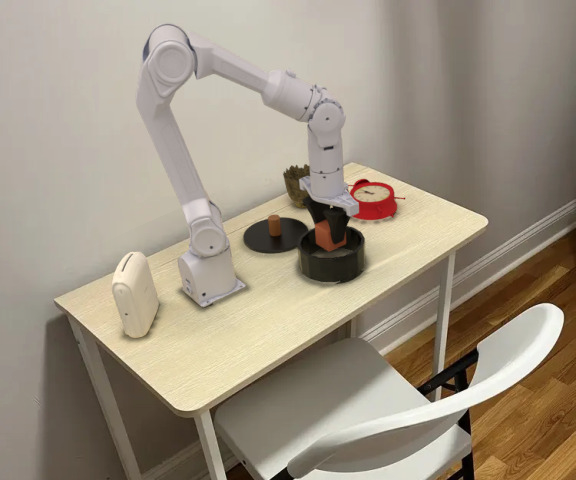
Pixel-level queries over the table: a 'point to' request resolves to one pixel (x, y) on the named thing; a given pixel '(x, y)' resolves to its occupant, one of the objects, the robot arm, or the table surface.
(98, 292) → the table surface
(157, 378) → the table surface
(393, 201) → the alarm clock
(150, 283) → the photo printer
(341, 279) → the pot
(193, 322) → the table surface
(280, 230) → the lid
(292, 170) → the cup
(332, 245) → the block
